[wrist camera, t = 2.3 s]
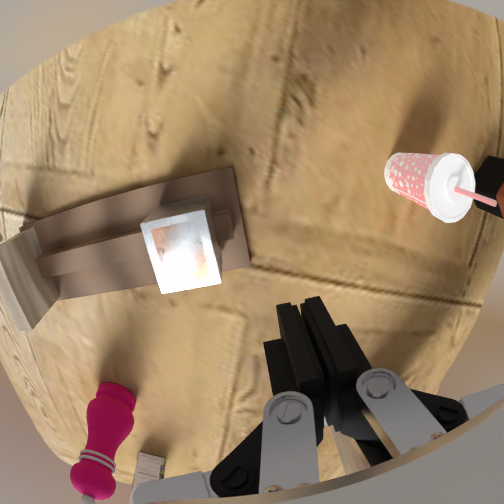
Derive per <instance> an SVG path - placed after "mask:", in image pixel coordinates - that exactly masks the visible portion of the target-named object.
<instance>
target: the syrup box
mask: <svg viewBox="0 0 504 504" xmlns="http://www.w3.org/2000/svg"><path fill="white" fill-rule="evenodd" d="M165 464H166V459H165V458H162V457H157V456H153V455H149V454H145V453H142V452H139V455H138V459H137V463H136V468H135V473H134V479H133V484H132V489H131V496H130V501H129V504H134V503H133V493H134V491H135V489H136V487H138V486H139V485H140V484H141V483H144V482H147V481H153V480H159V479H164V472H165Z"/></svg>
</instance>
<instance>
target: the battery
mask: <svg viewBox="0 0 504 504" xmlns="http://www.w3.org/2000/svg"><path fill="white" fill-rule="evenodd" d="M474 178H475V193H476V194H479V195H482V196H485V197H488V198H490V199H493V200H496V201H497V205H496V207H494V206H491V205H489V204H486V203H484V202H481V201H478V200H476V199H474V201H475V204H476V206H477V207H478V208H480V209H482V210H485V211H487V212H489V213H491V214H494V215H496V216H498V217H500V218H503V219H504V159H502V158H497V157H493V156H488V157H487V159H486V160H485V162H484V163H483V165H482V166H481V167H480V169H479V170H478V172H477V173H476V174H475V176H474Z"/></svg>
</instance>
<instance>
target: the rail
mask: <svg viewBox="0 0 504 504" xmlns="http://www.w3.org/2000/svg"><path fill="white" fill-rule="evenodd" d="M208 194H209V195H210V200H211V205H212V211H211V214H212V219H213V223H214V228H215V232H216V237H217V241H218V242H220V246H221V250H222V271H228V270H233V269H238V268H243V267H249V266H251V264H250V259H249V254H248V249H247V243H246V238H245V233H244V228H243V223H242V217H241V212H240V207H239V202H238V196H237V191H236V186H235V181H234V175H233V170H232V167H228V168H223V169H218V170H213V171H208V172H204V173H199V174H194V175H190V176H186V177H181V178H177V179H173V180H169V181H165V182H160V183H157V184H153V185H149V186H145V187H141V188H137V189H134V190H130V191H127V192H123V193H119V194H116V195H113V196H109V197H106V198H103V199H99V200H96V201H93V202H90V203H86V204H83V205H80V206H77V207H74V208H71V209H68V210H65V211H62V212H59V213H57V214H54V215H51V216H48V217H45V218H43V219H40V220H37V221H35V222H32V223H29V224H27V225H24V226H22V227H20V228H19V230H20V233H18V234H17V235H15V236H13V237H12V238H10V239H8V240H7V241H5V242H4V243H2V244H0V294H1V296H2V298H3V300H4V302H5V304H6V306H7V308H8V310H9V312H10V314H11V316H12V318H13V320H14V322H15V324H16V326H17V328H18V329H19V331H26V330H33V329H34V327H35V326H36V325H37V324H38V322H39V321H40V320H41V319H42V317H43V316H44V315H45V314H46V313H47V311H48V310H49V309H50V308H51V307H52V305H53V304H54V303H55V302H56V301H58V300H64V299H70V298H76V297H82V296H88V295H94V294H100V293H106V292H111V291H117V290H123V289H129V288H134V287H140V286H146V285H151V284H157V283H158V280H157V278H156V275H155V271H154V268H153V265H152V262H151V259H150V256H149V253H148V250H147V246H146V243H145V240H144V236H143V233H142V229H141V226H140V223H141V222H142V221H143V220H144V219H145V218H146V217H147V216H148V215H149V214H150V213H151V212H152V211H153V210H154V209H155V208H156V207H157V206H159V205H163V204H168V203H172V202H176V201H181V200H185V199H190V198H194V197H199V196H204V195H208Z"/></svg>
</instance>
